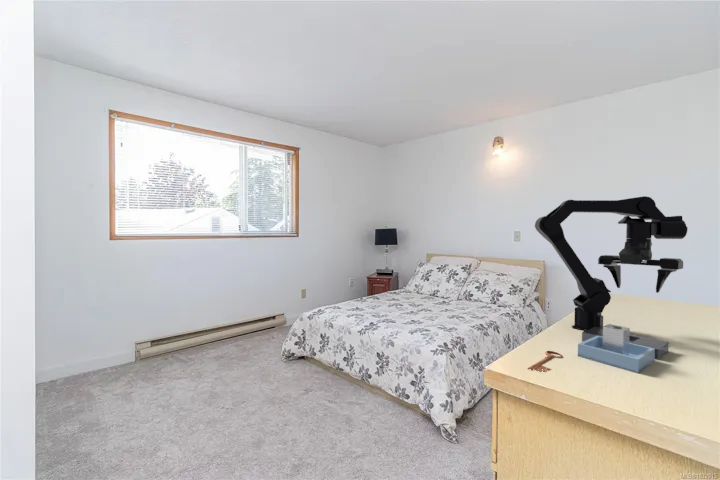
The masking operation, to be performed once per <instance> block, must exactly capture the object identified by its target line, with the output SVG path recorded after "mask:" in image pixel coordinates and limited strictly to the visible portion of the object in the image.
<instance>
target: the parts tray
mask: <svg viewBox="0 0 720 480" xmlns="http://www.w3.org/2000/svg"><path fill="white" fill-rule="evenodd" d="M577 356H578V357H581V358H583V359H587V360H589V361H590V360H591V361H594V362H597V363H600V364H605V365H609V366H611V367H614V368H618V369H623V370H625V371H629V372H632V373H636V374H639V373H641V372H642V371H644V369H646V368H647V367H648V366H650V365H651V364H654V363H655V360H656V359H655V349H654V348H650V347H646V346H641V345H637V344H632V343H629V356H627V355H623V354H619V353H615V352H611V351H608V350H604V349H603V337H602V336H595V337H593V338H590V339H588V340H586V341H581V342H579V343H578V344H577Z"/></svg>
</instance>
